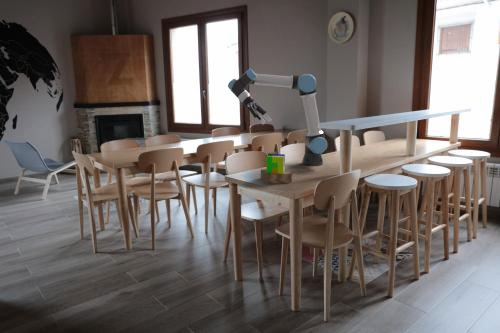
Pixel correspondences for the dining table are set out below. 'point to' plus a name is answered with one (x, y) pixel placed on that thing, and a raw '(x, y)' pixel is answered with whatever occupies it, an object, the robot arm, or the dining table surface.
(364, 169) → the dining table surface
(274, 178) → the walnut block
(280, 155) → the puzzle toy
